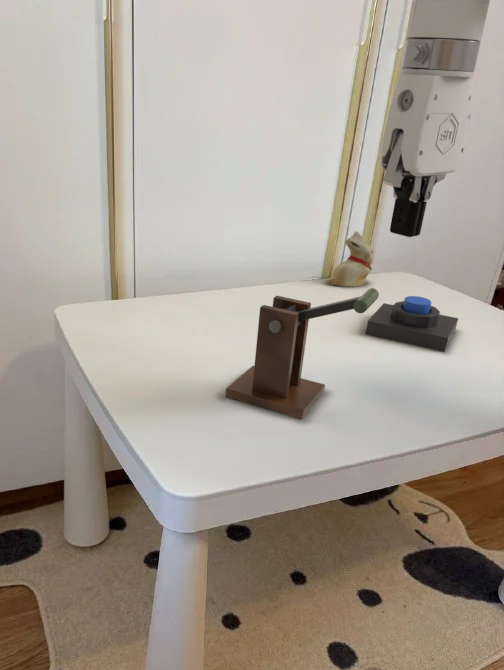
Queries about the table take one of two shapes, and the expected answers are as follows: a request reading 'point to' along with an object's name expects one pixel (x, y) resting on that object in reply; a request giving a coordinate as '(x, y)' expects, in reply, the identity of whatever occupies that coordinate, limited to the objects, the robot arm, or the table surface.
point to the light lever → (338, 306)
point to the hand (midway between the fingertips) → (404, 233)
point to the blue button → (417, 305)
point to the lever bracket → (279, 363)
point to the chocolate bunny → (354, 263)
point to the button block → (412, 326)
